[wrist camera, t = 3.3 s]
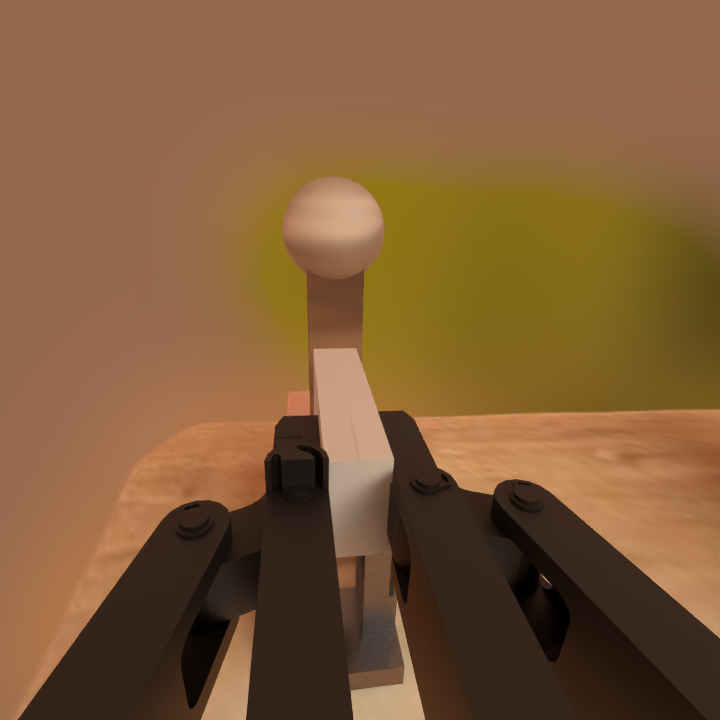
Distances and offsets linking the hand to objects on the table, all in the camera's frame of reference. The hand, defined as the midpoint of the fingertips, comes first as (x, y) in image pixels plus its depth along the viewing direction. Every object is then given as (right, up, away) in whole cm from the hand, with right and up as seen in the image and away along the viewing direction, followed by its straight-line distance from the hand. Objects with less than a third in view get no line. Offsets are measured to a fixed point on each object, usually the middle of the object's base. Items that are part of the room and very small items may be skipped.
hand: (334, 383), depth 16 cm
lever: (-1, -12, +11) cm, 17 cm away
